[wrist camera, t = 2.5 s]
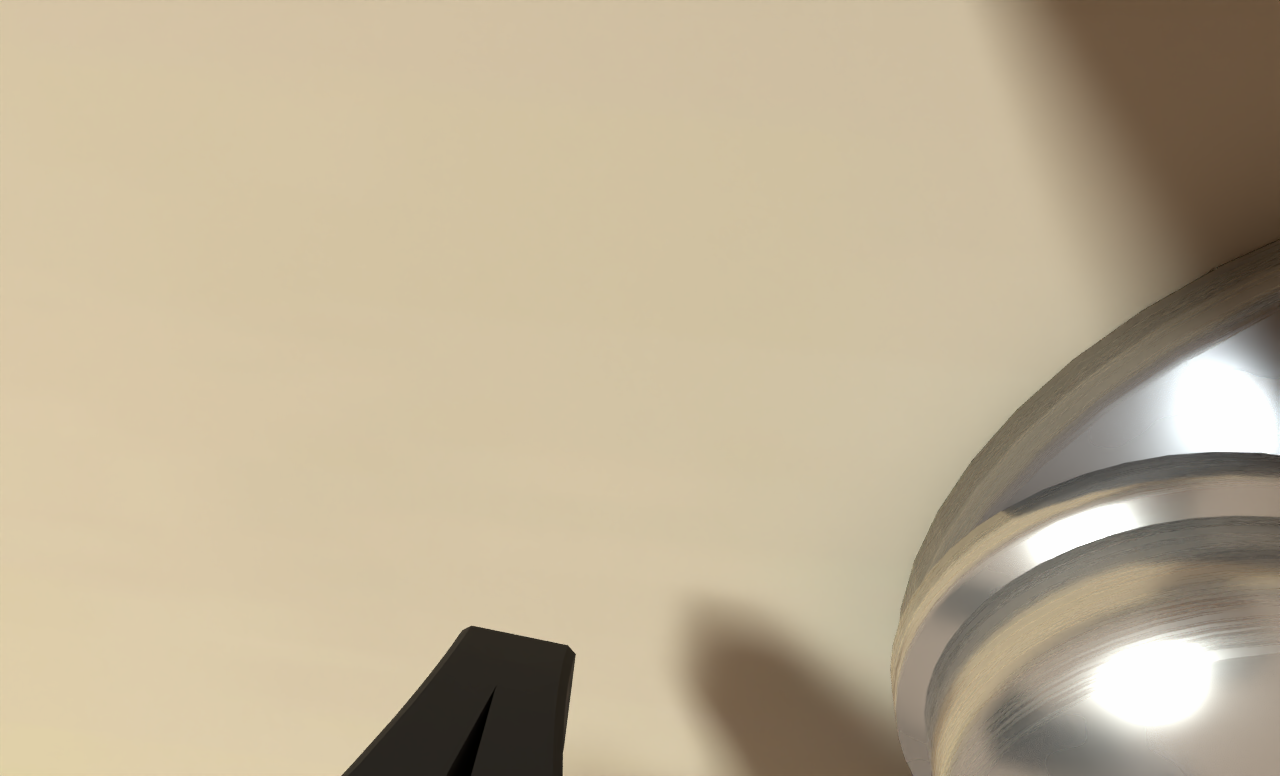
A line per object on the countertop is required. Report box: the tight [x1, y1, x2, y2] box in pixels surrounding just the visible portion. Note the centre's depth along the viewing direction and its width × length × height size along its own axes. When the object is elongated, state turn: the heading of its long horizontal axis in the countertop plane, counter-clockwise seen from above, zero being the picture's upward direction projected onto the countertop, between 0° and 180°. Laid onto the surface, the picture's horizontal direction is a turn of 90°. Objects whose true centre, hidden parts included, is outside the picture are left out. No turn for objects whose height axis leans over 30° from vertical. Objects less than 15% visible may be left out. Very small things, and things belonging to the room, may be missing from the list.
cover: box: [890, 452, 1280, 776], centre depth 11 cm, size 8×8×3 cm
